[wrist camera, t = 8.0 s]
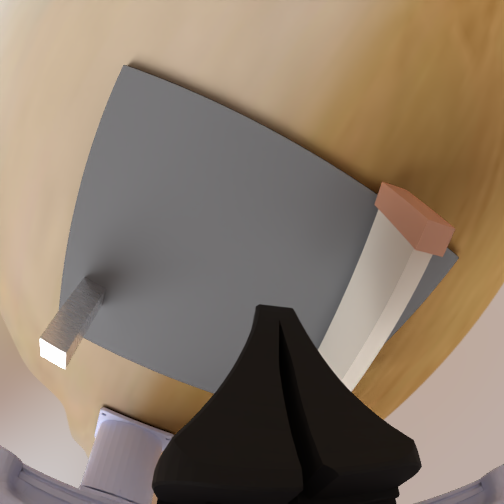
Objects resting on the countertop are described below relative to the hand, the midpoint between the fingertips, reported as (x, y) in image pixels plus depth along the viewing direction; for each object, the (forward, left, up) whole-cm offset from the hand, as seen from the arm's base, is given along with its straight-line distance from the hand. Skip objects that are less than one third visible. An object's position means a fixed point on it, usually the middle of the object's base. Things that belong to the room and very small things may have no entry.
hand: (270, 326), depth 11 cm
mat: (-3, 0, -6) cm, 7 cm away
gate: (0, -5, -5) cm, 7 cm away
